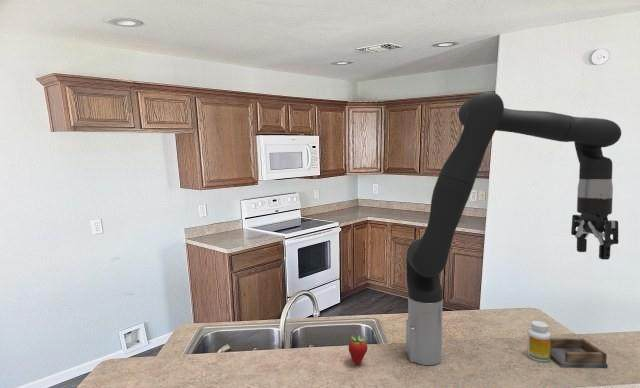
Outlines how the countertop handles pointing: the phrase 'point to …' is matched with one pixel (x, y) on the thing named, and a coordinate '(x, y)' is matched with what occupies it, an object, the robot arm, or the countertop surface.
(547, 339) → the supplement bottle
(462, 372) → the countertop surface
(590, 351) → the u rest
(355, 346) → the fruit
